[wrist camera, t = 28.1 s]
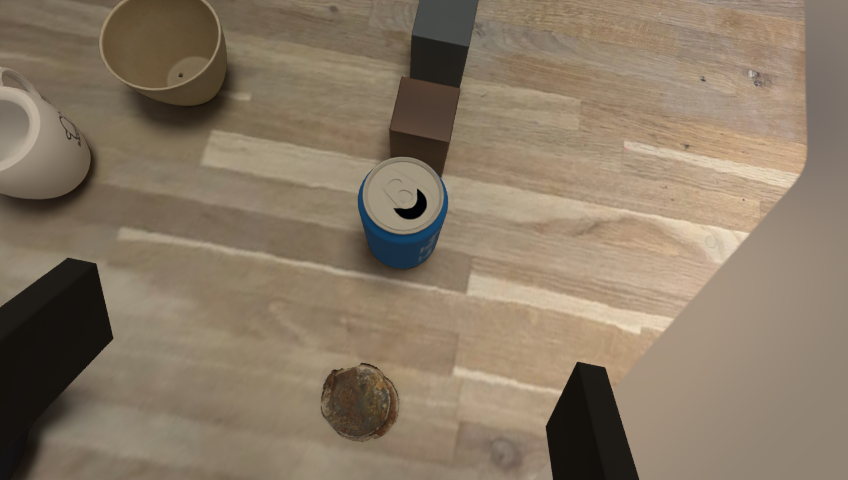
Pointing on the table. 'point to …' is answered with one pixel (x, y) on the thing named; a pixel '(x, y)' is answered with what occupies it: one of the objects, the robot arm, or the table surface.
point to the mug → (37, 145)
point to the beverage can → (402, 211)
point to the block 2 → (423, 122)
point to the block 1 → (441, 40)
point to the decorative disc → (360, 402)
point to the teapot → (12, 457)
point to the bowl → (166, 49)
